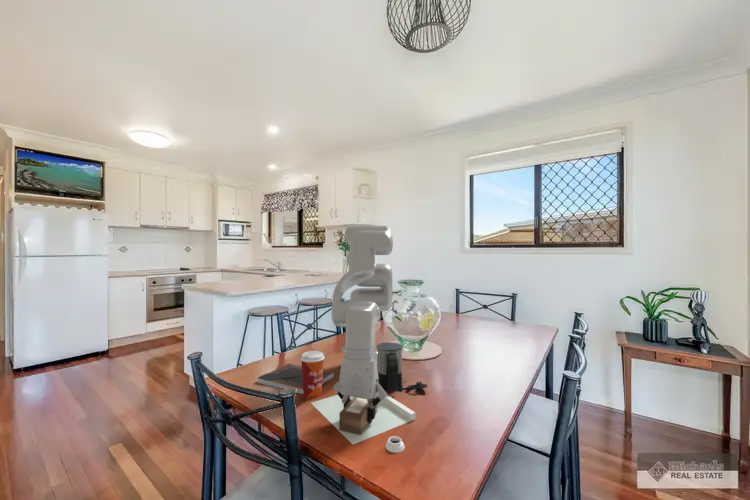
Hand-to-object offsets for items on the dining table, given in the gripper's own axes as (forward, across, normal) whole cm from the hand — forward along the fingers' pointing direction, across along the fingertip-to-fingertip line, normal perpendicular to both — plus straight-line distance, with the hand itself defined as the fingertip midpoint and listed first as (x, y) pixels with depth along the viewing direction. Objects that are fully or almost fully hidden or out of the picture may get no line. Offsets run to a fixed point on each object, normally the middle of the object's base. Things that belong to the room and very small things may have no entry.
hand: (359, 417), depth 86 cm
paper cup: (+2, -20, +10) cm, 23 cm away
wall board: (+2, -2, +5) cm, 6 cm away
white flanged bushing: (+2, +12, -7) cm, 14 cm away
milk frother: (+2, +5, +25) cm, 26 cm away
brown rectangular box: (+1, 0, 0) cm, 1 cm away
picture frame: (+3, -33, +20) cm, 39 cm away
